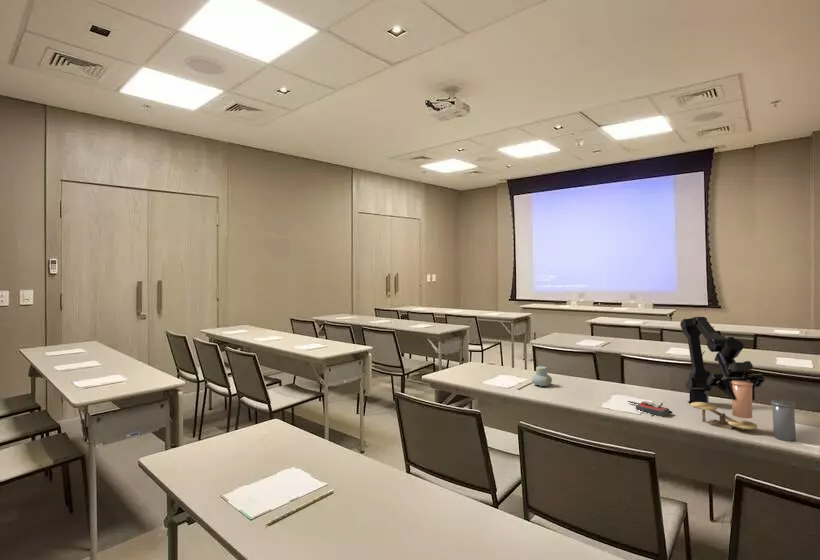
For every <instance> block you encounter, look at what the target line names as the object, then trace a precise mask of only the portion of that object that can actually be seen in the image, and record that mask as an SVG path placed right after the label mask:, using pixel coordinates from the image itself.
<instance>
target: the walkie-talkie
mask: <svg viewBox="0 0 820 560" xmlns="http://www.w3.org/2000/svg"><path fill="white" fill-rule="evenodd" d="M628 402H630V403H634V404H633V405H635V404H638V405H635V410H636V409H637V410H640V411H643V412H647V413H650V414H649V415H651V414H653V415H652V416H655V415H656V417H660V416H661V417H660V418H665V417H668V416H670V414H673V411H672V410H670V408H668V407H663V406H661V404H655V403H654V402H650V401H647V400H645V401H641V402H640V403H639V402H635V401H630V400H628V401H627V403H628ZM630 403H629V404H630ZM637 410H636V411H637Z"/></svg>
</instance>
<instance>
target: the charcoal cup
mask: <svg viewBox="0 0 820 560" xmlns="http://www.w3.org/2000/svg"><path fill="white" fill-rule="evenodd" d="M771 406H772V407H771V408H772V409H771V410H772V428H773V438H774V439H777V440H781V441H786V442H794V440H795V441H796V440H797V437H796V436H797V435H796V432H797V431H796V417H795V415H796V413H795V412H796V411H795V407H796V403H795V402H793V401H790V400H784V399H782V400H781V399H773V400H771Z"/></svg>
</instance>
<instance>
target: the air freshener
mask: <svg viewBox="0 0 820 560" xmlns="http://www.w3.org/2000/svg"><path fill="white" fill-rule="evenodd" d="M552 381H553V379H552V376H550V375H549V374H548V367H547V366H543V365H539V366H536V368H535V374H534V375H533V376H532V377H531V383H533V384H534V385H535V386H537V385H539V386H538V387H543V386H546V387H548V386H550V385H551V384H552V383H553V382H552Z"/></svg>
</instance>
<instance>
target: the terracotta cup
mask: <svg viewBox="0 0 820 560" xmlns="http://www.w3.org/2000/svg"><path fill="white" fill-rule="evenodd" d="M731 385H732V386H731V389H732V391H733V393H734V395H735V398H736V399H735V400H733V399H732V398H731V400H732V401H731V402H732V403H731V405H732V407H731V409H732V413H731V414H732V416H733V417H737V418H740V419H752V418H753V400H752V386H753V383H752V382H749V381H744V380H732V382H731Z"/></svg>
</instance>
